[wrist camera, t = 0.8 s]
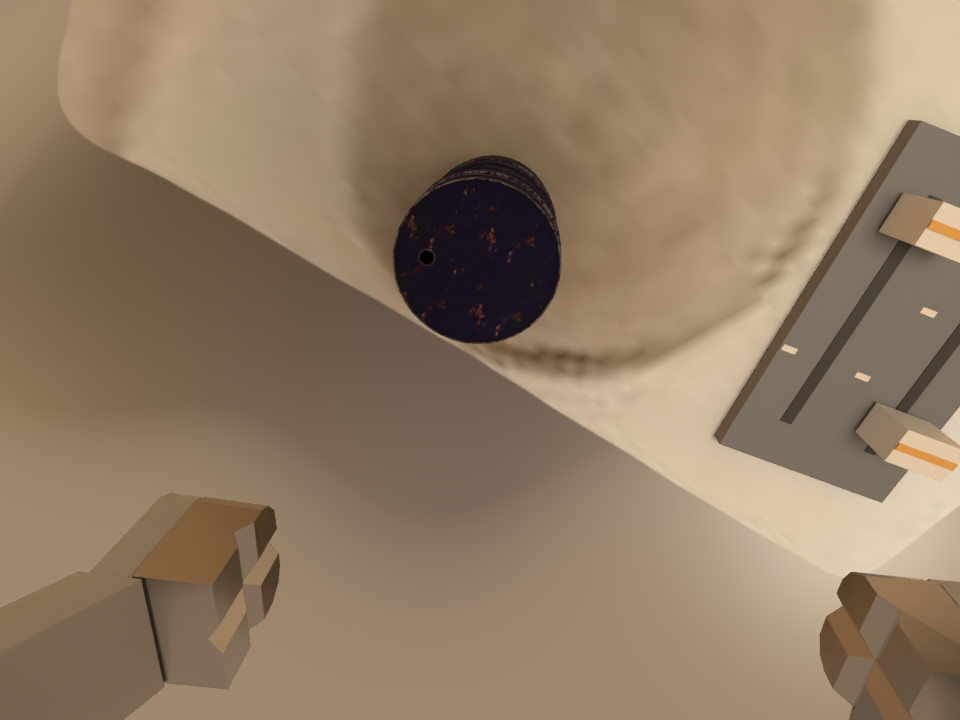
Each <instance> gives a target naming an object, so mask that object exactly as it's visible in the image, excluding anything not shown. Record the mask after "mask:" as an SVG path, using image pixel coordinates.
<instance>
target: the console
mask: <svg viewBox="0 0 960 720" xmlns="http://www.w3.org/2000/svg"><path fill="white" fill-rule="evenodd" d="M903 193H909V194H913V195H917V196H921V197H926V198H930V199H934V200H938V201H943V202H946V203H948V204H951V205H953V206H956V207H958V208H960V136H957V135H955V134H953V133H950V132H948V131H945V130H943V129H940V128H938V127H936V126H933V125H931V124H928V123H926V122H923V121H915V120H909V121H908V123H907V124H906V126H905V128H904V129H903V131H902V132H901V134H900V136H899V137H898V139H897V140H896V142H895V144H894V145H893V147H892V149H891V150H890V152H889V153H888V155H887V157H886V158H885V160H884V162H883V163H882V165H881V166H880V168H879V170H878V171H877V173H876V174H875V176H874V178H873V179H872V181H871V183H870V184H869V186H868V187H867V189H866V191H865V192H864V194H863V196H862V197H861V199H860V200H859V202H858V204H857V205H856V207H855V208H854V210H853V212H852V213H851V215H850V217H849V218H848V220H847V221H846V223H845V225H844V226H843V228H842V230H841V231H840V233H839V234H838V236H837V238H836V239H835V241H834V243H833V244H832V246H831V247H830V249H829V251H828V252H827V254H826V255H825V257H824V259H823V260H822V262H821V264H820V265H819V267H818V268H817V270H816V272H815V273H814V275H813V277H812V278H811V280H810V281H809V283H808V285H807V286H806V288H805V289H804V291H803V293H802V294H801V296H800V298H799V299H798V301H797V302H796V304H795V306H794V307H793V309H792V311H791V312H790V314H789V315H788V317H787V319H786V320H785V322H784V324H783V325H782V327H781V328H780V330H779V332H778V333H777V335H776V336H775V338H774V340H773V341H772V343H771V345H770V346H769V348H768V349H767V351H766V353H765V354H764V356H763V358H762V359H761V361H760V362H759V364H758V366H757V367H756V369H755V370H754V372H753V374H752V375H751V377H750V379H749V380H748V382H747V383H746V385H745V387H744V388H743V390H742V392H741V393H740V395H739V396H738V398H737V400H736V401H735V403H734V405H733V406H732V408H731V409H730V411H729V413H728V414H727V416H726V417H725V419H724V421H723V422H722V424H721V426H720V427H719V429H718V430H717V432H716V434H715V437H716V438H717V440H718V442H719V444H721V445H724V446H727V447H730V448H732V449H735V450H738V451H741V452H743V453H746V454H749V455H752V456H755V457H757V458H760V459H763V460H766V461H768V462H771V463H774V464H777V465H779V466H782V467H785V468H788V469H790V470H793V471H796V472H799V473H801V474H804V475H807V476H810V477H812V478H815V479H818V480H821V481H823V482H826V483H829V484H832V485H834V486H837V487H840V488H843V489H845V490H848V491H851V492H854V493H857V494H859V495H862V496H865V497H868V498H870V499H873V500H876V501H879V502H881V503H882V502H883V501H884V500H885V498H886V497H887V496H888V495H889V493H890V492H891V491H892V490H893V489H894V487H895V486H896V485H897V484H898V482H899V481H900V480H901V479H902V477H903V476H904V475H905V474H906V472H907V471H908V469H905V468H902V467H900V466H897V465H894V464H891V463H889V462H886V461H884V460H883V459H882V458H881V457H880V456H879V455H878V454H877V453H876V452H875V451H874V450H873V449H872V448H871V447H870V446H869V445H868V444H867V443H866V442H865V441H864V440H863V439H862V438H861V437H860V436H859V435H858V434H857V433H856V430H857V429H858V428H859V426H860V425H861V424H862V422H863V421H864V419H865V418H866V417H867V415H868V414H869V413H870V411H871V410H872V409H873V407H874V406H875V404H876V403H880V404H883V405H885V406H888V407H891V408H893V409H896V410H899V411H901V412H904V413H907V414H909V415H912V416H915V417H917V418H920V419H923V420H925V421H928V422H931V423H932V424H933V425H934V426H936V427H937V428H938V429H939V430H941V429H942V428H943V426H944V425H945V424H946V423H947V421H948V420H949V419H950V418H951V416H952V415H953V414H954V413H955V411H956V410H957V409H958V408H959V406H960V263H957V262H955V261H952V260H949V259H947V258H944V257H941V256H938V255H936V254H933V253H931V252H928V251H926V250H923V249H921V248H918V247H916V246H913V245H911V244H908V243H906V242H903V241H901V240H898V239H896V238H893V237H891V236H888V235H886V234H883V233H880V232H879V230H880V228H881V227H882V225H883V224H884V222H885V221H886V219H887V218H888V216H889V214H890V213H891V211H892V210H893V208H894V207H895V205H896V204H897V202H898V201H899V199H900V197H901V196H902V194H903Z"/></svg>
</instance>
